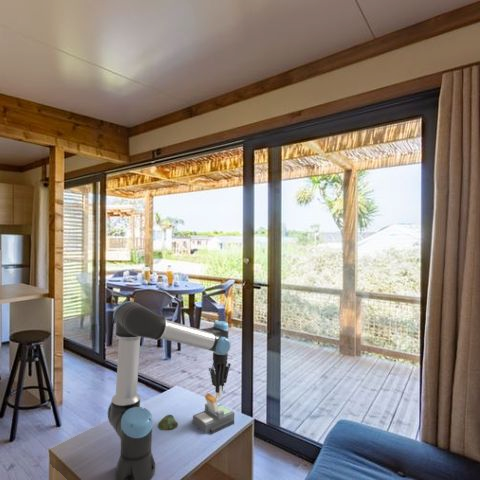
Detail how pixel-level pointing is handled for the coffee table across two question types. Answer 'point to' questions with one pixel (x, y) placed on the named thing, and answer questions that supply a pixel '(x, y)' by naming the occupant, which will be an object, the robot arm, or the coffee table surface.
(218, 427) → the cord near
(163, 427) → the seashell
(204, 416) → the stepped grey box
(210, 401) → the lever
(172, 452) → the coffee table surface
